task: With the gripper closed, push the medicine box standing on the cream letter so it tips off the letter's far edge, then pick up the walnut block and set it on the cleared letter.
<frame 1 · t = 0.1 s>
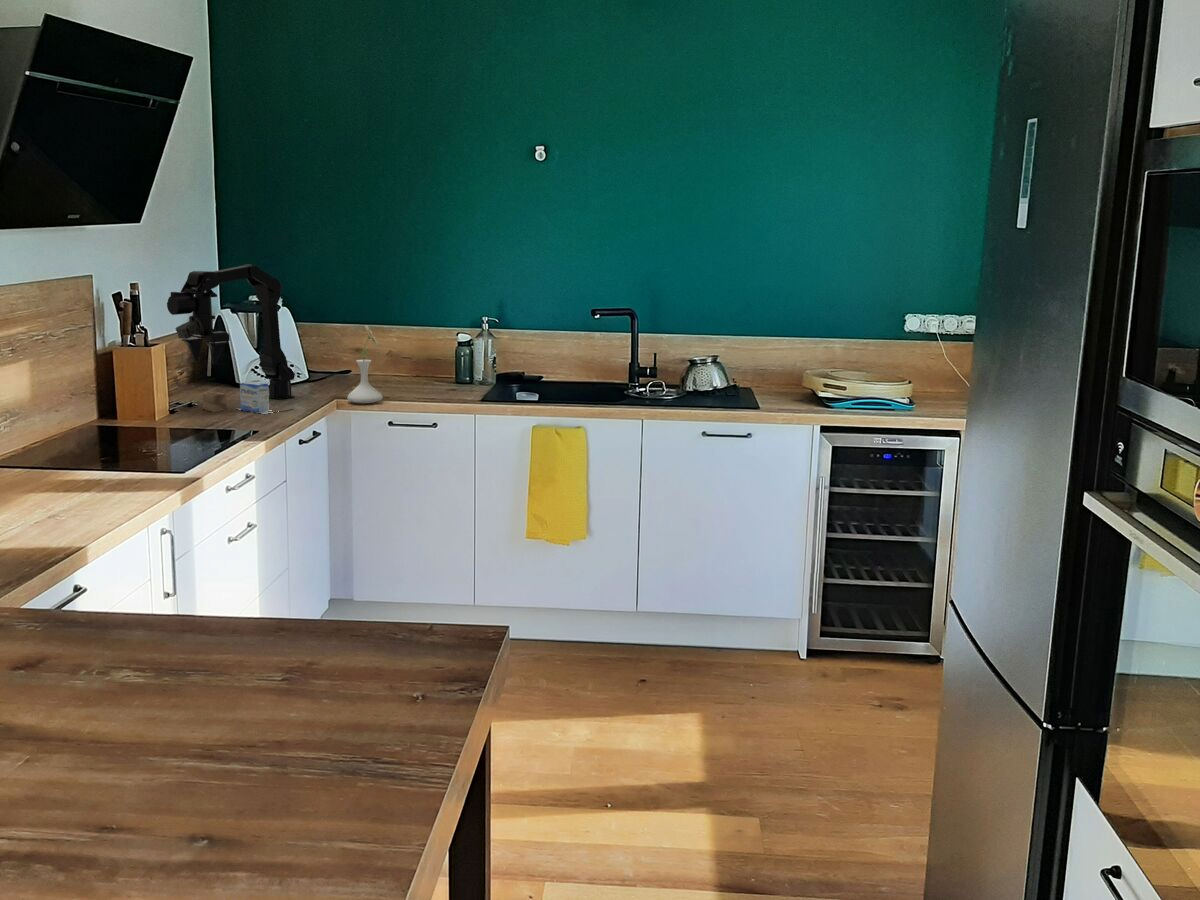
hand: (205, 362, 362), 15 cm above the counter, tool pointing down, fingers open, 9 cm apart
medicine box: (255, 411, 363), resting on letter
flower in vase: (366, 402, 381), on the counter
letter: (265, 409, 366), on the counter
walnut block: (215, 409, 365), on the counter
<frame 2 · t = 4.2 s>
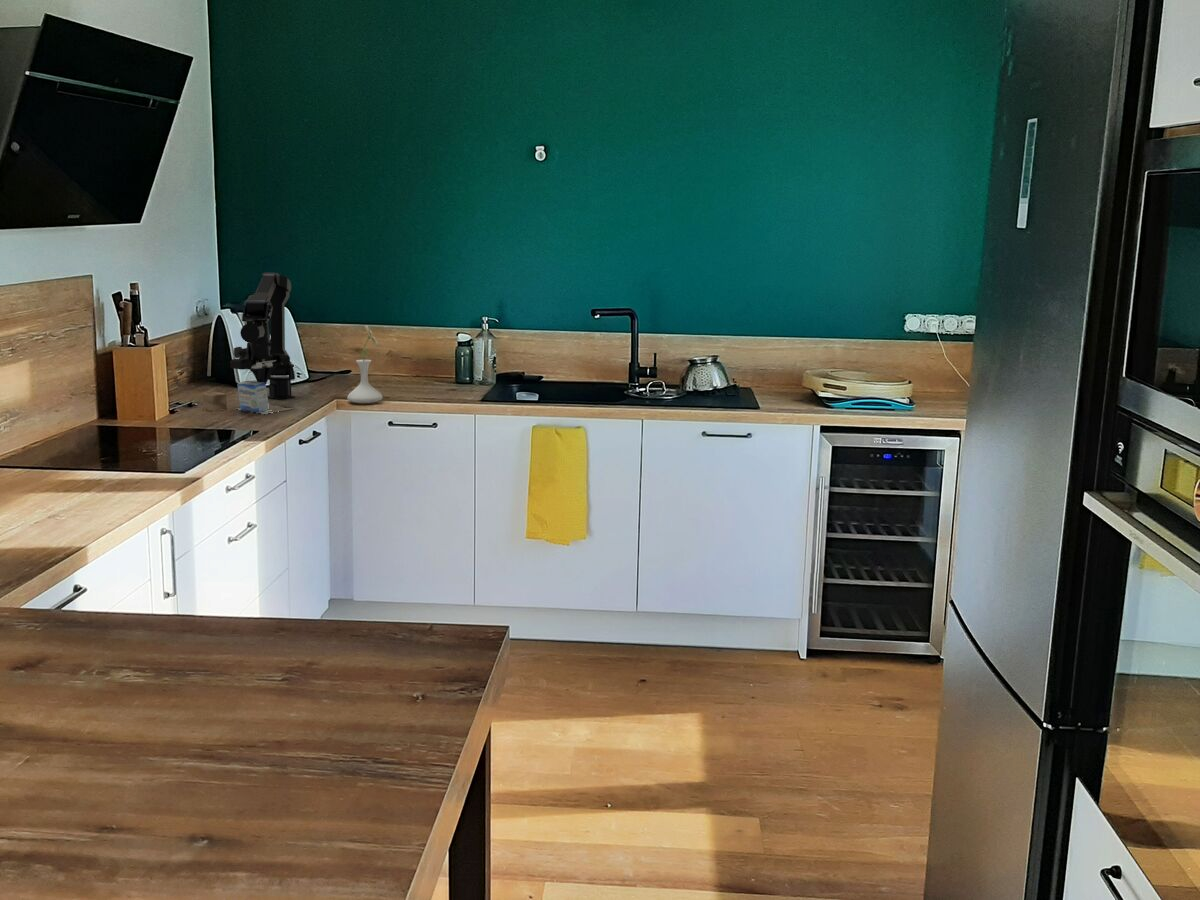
hand: (262, 389, 364), 7 cm above the counter, tool pointing down, fingers closed
medicine box: (255, 410, 363), on the counter, touching gripper, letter
everything else where it was.
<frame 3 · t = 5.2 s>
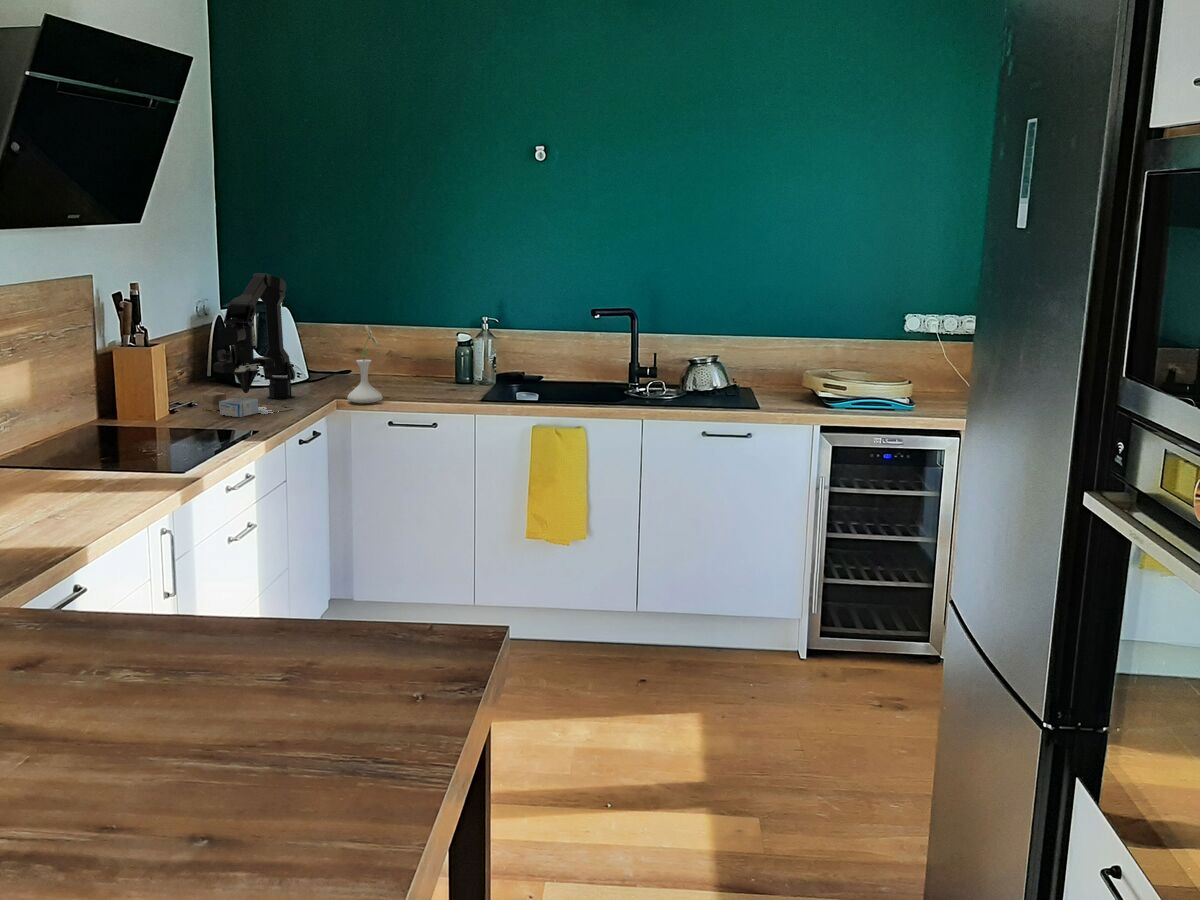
hand: (245, 392, 359), 6 cm above the counter, tool pointing down, fingers closed
medicine box: (249, 404, 361), point 2 cm above the counter, touching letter
everything else where it was.
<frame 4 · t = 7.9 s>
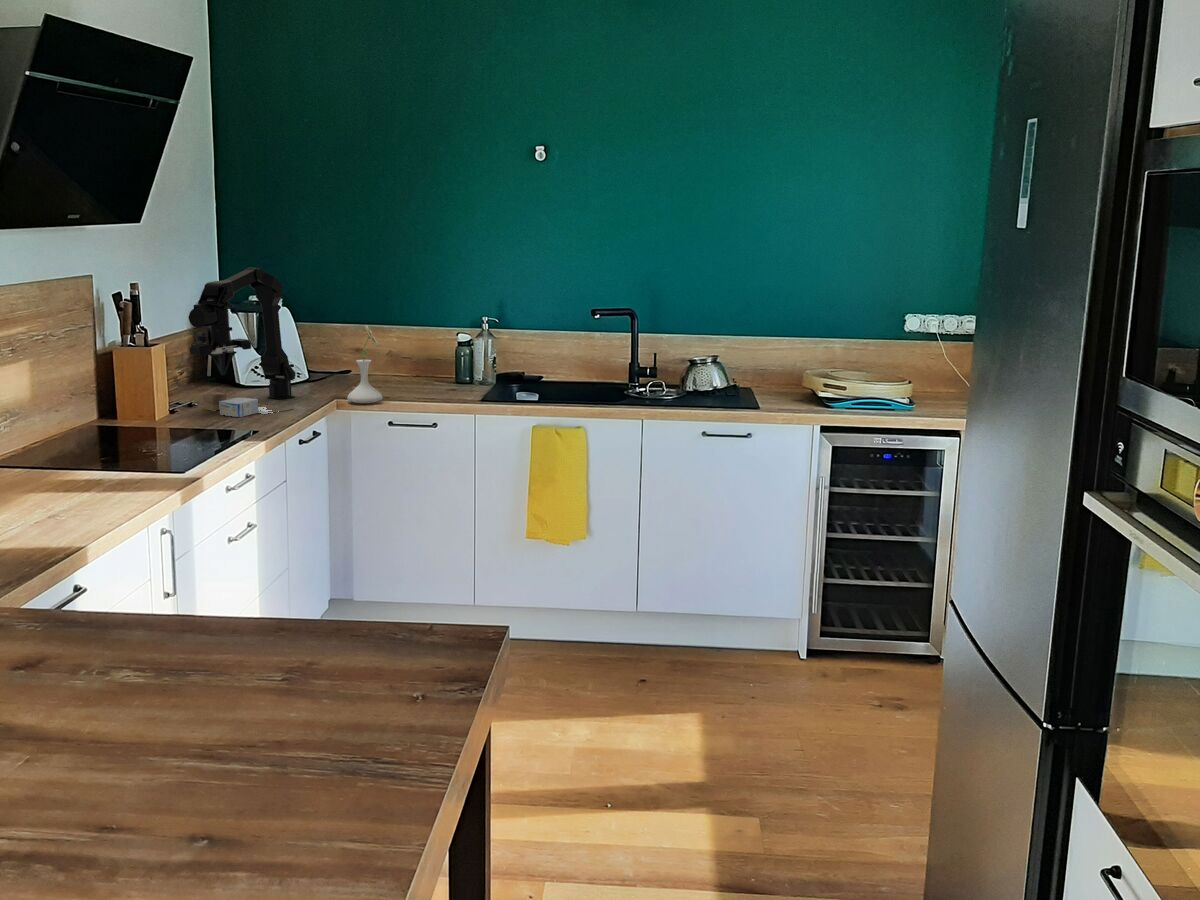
hand: (222, 374, 359), 12 cm above the counter, tool pointing down, fingers closed
nothing on the counter moved.
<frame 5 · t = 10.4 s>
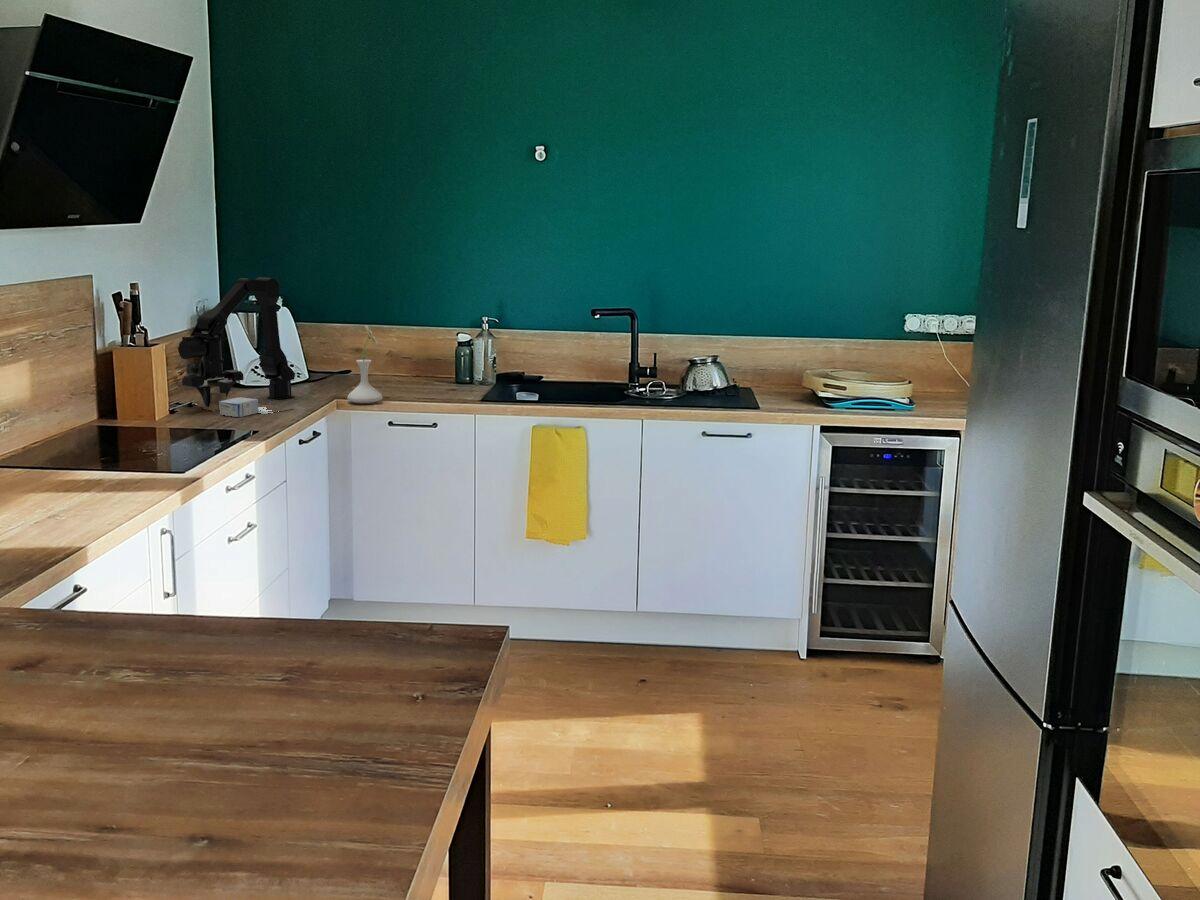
hand: (215, 405, 365), 1 cm above the counter, tool pointing down, fingers closed on walnut block, 5 cm apart
walnut block: (215, 409, 365), on the counter, touching gripper
everything else where it was.
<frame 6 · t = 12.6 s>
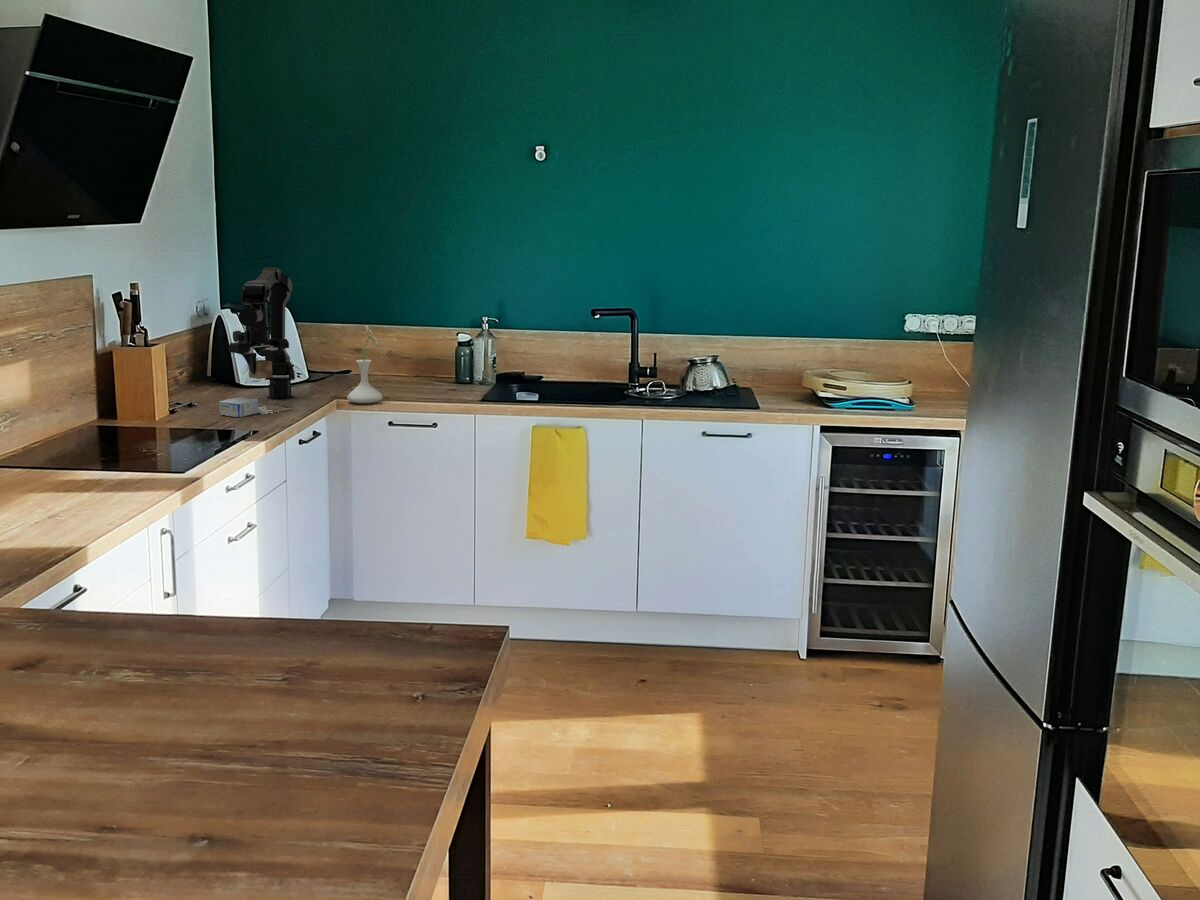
hand: (260, 373, 364), 11 cm above the counter, tool pointing down, fingers closed on walnut block, 5 cm apart
walnut block: (260, 377, 364), point 10 cm above the counter, touching gripper
everything else where it was.
when the fingers open (2 cm above the counter, at t = 14.9 s): walnut block stays where it is, resting on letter.
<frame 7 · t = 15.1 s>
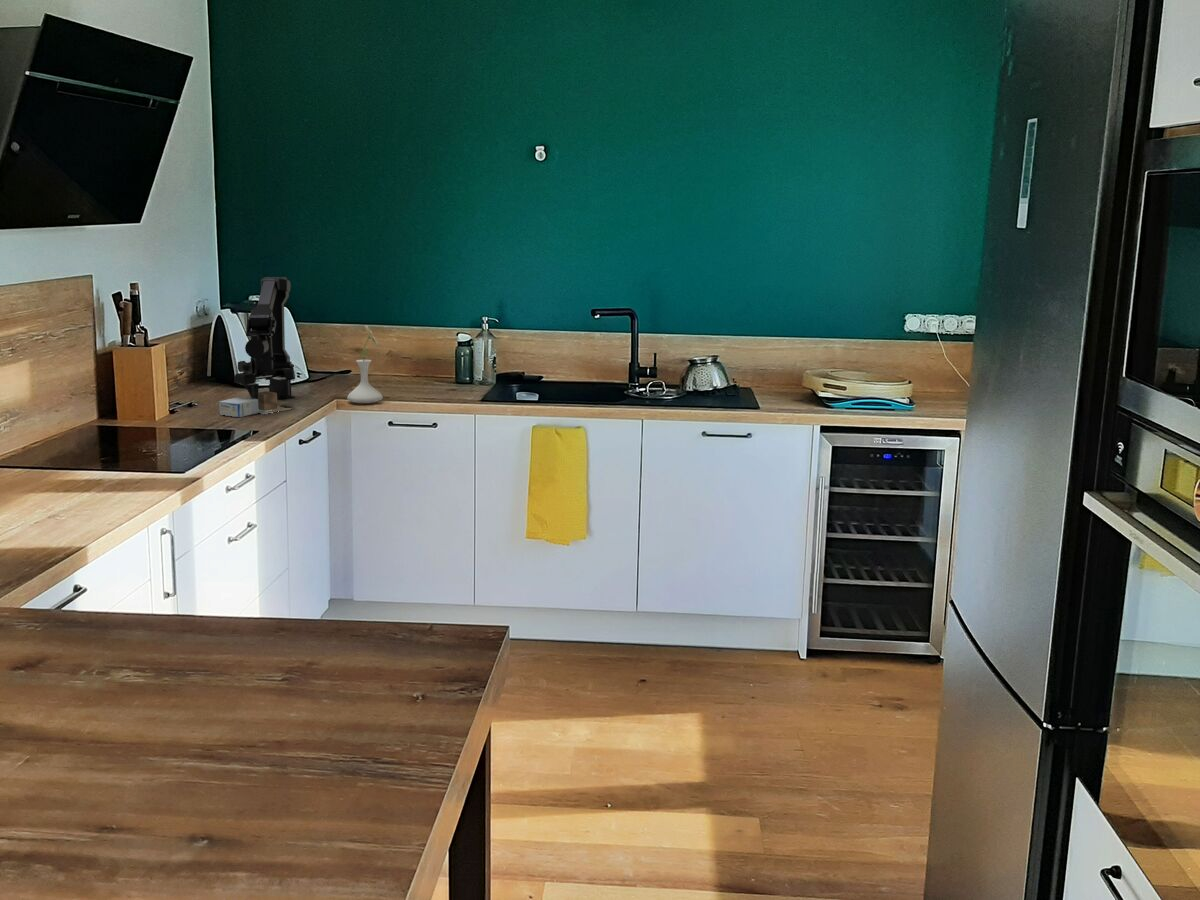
hand: (265, 403, 366), 2 cm above the counter, tool pointing down, fingers open, 7 cm apart
walnut block: (265, 408, 366), resting on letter
everything else where it was.
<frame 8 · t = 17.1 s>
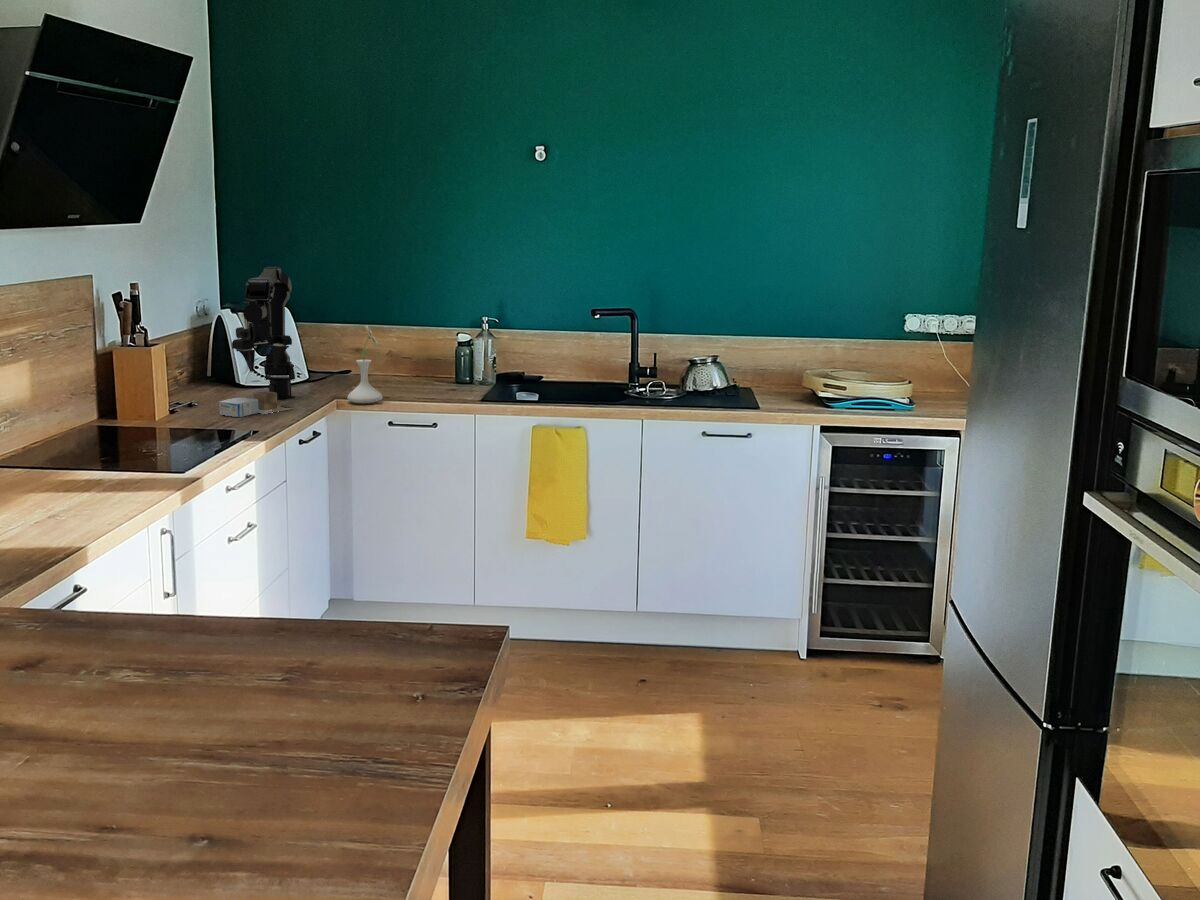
hand: (263, 369, 364), 12 cm above the counter, tool pointing down, fingers open, 9 cm apart
nothing on the counter moved.
at the end: walnut block inside the target area on the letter (0.0 cm from its centre), point 0.2 cm above the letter's base; medicine box inside the target area (10.9 cm from its centre), point 2.4 cm above the counter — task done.
